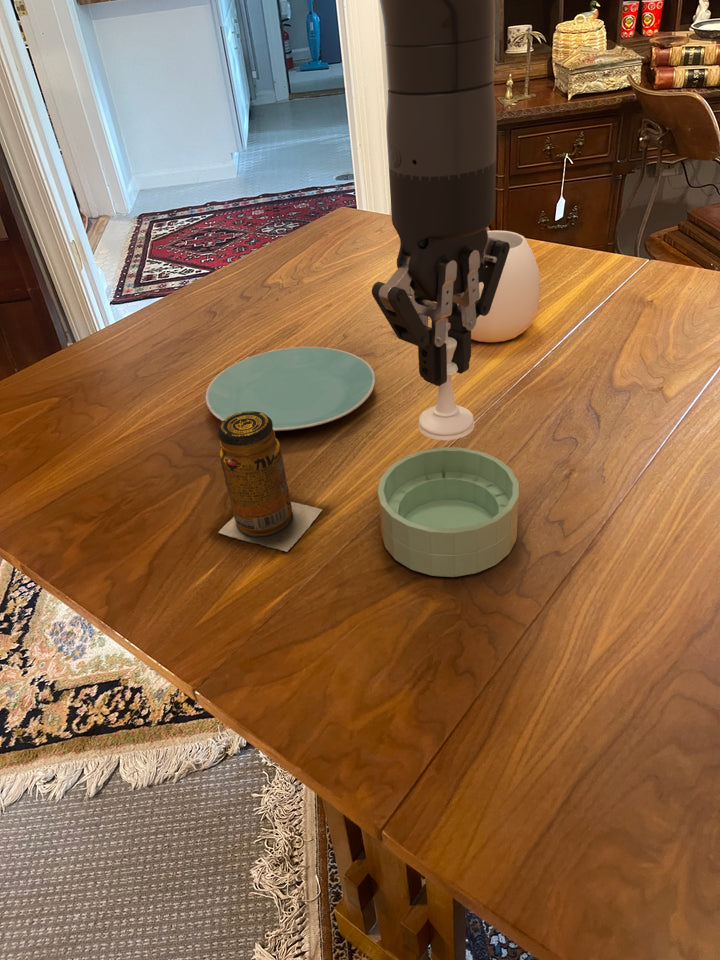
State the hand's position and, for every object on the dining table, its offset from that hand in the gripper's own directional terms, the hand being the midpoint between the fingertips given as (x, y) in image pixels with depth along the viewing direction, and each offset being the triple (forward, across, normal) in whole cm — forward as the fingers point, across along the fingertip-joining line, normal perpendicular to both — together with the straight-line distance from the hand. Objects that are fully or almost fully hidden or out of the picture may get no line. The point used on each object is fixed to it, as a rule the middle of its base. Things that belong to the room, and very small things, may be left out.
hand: (445, 374), depth 62 cm
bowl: (+18, 0, 0) cm, 18 cm away
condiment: (+18, -11, +15) cm, 26 cm away
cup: (+18, +38, +26) cm, 50 cm away
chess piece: (+5, 0, 0) cm, 5 cm away
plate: (+18, +6, +33) cm, 39 cm away
